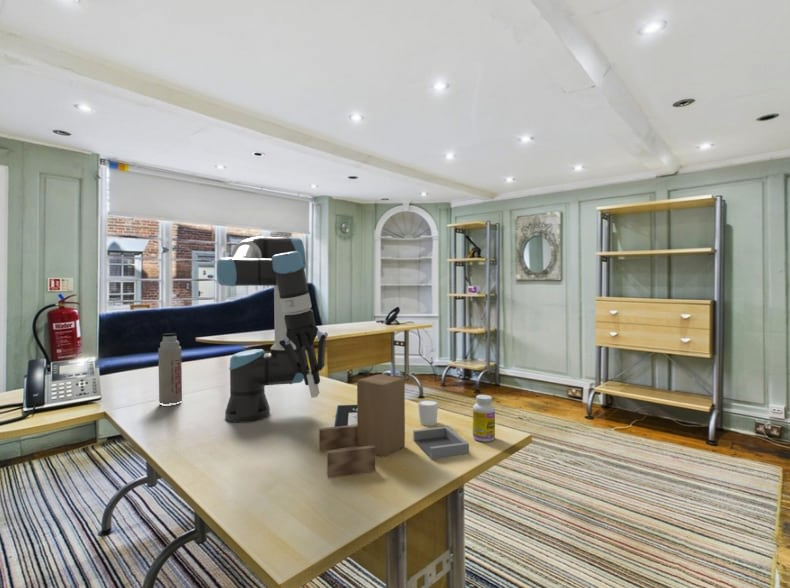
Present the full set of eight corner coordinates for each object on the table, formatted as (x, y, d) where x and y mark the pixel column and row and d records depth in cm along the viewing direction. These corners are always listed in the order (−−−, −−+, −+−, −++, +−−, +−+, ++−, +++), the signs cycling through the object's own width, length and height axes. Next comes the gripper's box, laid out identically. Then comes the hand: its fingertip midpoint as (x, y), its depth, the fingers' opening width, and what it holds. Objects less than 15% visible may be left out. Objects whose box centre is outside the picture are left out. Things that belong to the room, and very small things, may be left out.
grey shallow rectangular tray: (431, 459, 110) (431, 448, 110) (413, 440, 124) (413, 430, 123) (468, 454, 113) (468, 443, 113) (447, 435, 127) (447, 426, 127)
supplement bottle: (488, 444, 120) (488, 401, 120) (468, 438, 125) (468, 397, 124) (498, 438, 125) (499, 396, 125) (479, 432, 129) (479, 392, 129)
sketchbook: (393, 407, 159) (393, 401, 159) (401, 435, 129) (401, 428, 129) (337, 408, 157) (337, 402, 157) (333, 437, 127) (333, 430, 127)
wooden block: (379, 438, 125) (378, 373, 125) (405, 446, 119) (405, 378, 118) (356, 448, 117) (356, 379, 117) (383, 458, 111) (383, 384, 111)
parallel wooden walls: (327, 477, 100) (327, 453, 100) (319, 449, 117) (319, 428, 117) (375, 470, 103) (375, 447, 103) (360, 444, 121) (360, 424, 120)
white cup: (442, 422, 139) (442, 402, 139) (430, 428, 134) (429, 406, 134) (426, 418, 144) (426, 398, 143) (414, 423, 139) (413, 402, 138)
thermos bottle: (186, 402, 163) (185, 332, 163) (166, 407, 157) (165, 335, 156) (175, 399, 168) (173, 331, 167) (155, 404, 161) (153, 333, 160)
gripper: (268, 318, 104) (287, 404, 108) (317, 311, 102) (335, 398, 106) (279, 311, 111) (297, 392, 115) (325, 304, 109) (341, 386, 113)
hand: (315, 395), depth 110 cm, fingers closed
